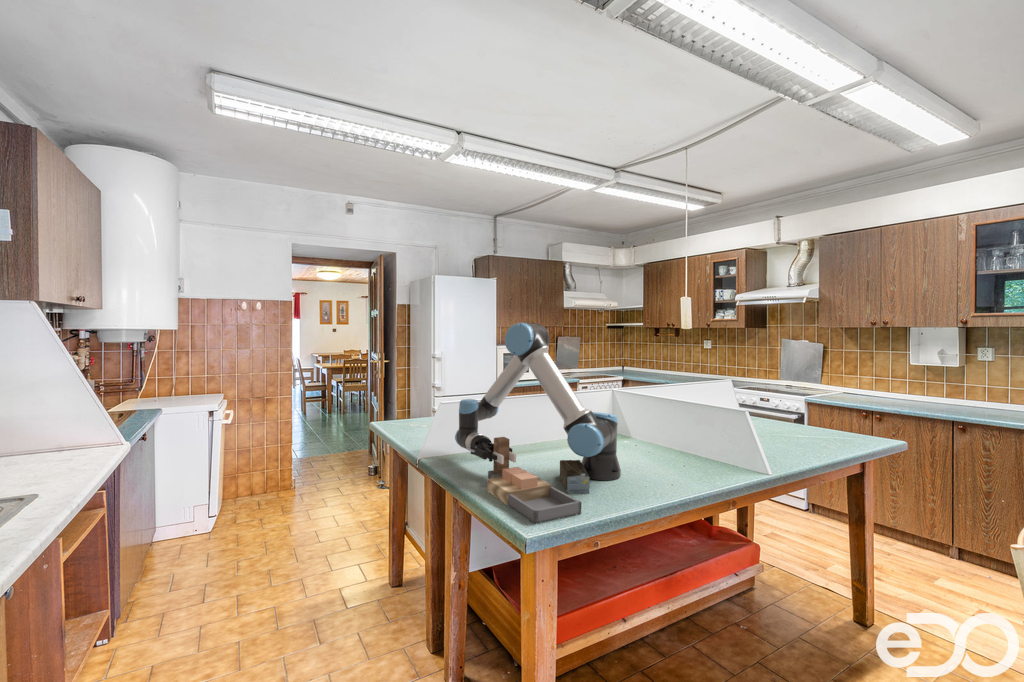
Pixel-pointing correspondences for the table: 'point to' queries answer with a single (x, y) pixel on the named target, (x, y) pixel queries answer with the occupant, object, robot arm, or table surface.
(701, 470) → the table surface
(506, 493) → the board
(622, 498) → the table surface
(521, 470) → the tile rear
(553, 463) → the table surface
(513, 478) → the tile front
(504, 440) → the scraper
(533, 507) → the tray
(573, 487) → the beverage carton
